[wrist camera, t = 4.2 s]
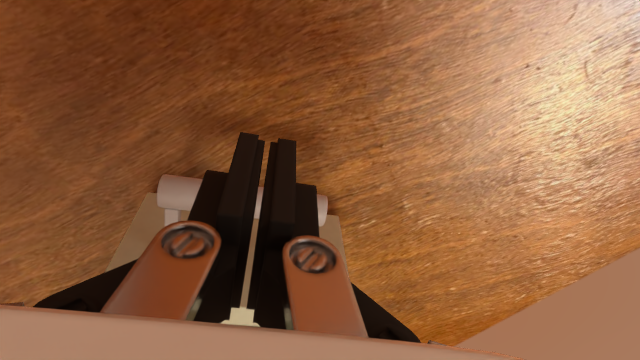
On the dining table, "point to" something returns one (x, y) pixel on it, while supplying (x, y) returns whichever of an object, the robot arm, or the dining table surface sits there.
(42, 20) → the dining table surface
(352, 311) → the robot arm
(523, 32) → the dining table surface
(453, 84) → the dining table surface
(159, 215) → the drawer
